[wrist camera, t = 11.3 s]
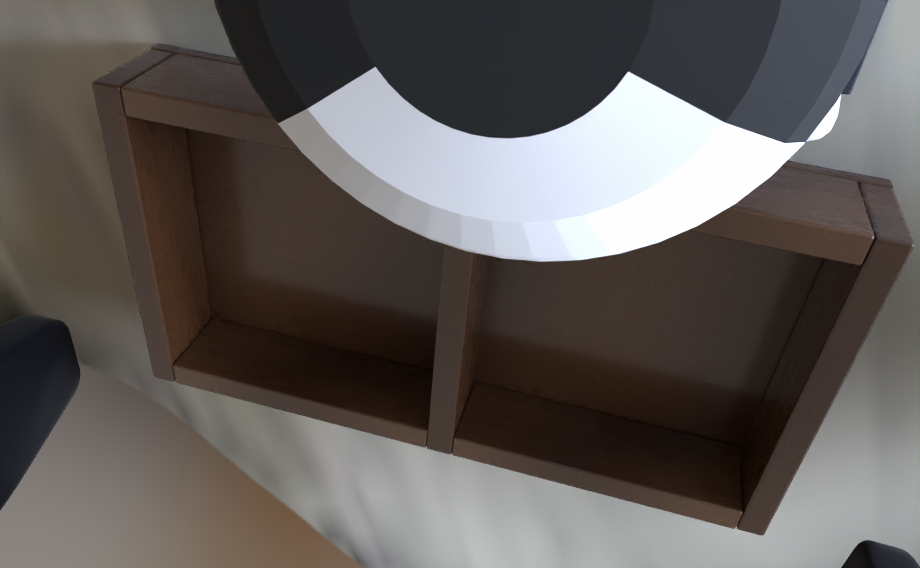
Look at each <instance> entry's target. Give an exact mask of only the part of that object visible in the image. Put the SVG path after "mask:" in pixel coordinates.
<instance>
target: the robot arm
mask: <svg viewBox="0 0 920 568" xmlns="http://www.w3.org/2000/svg"><path fill="white" fill-rule="evenodd" d="M79 380H80V368H79V364H78V361H77V357H76V353H75V349H74V346H73V342H72V338H71V334H70V331H69V329H68V327H67V326H66V325H65V323H64V322H62V321H60V320H56V319H52V318H49V317H45V316H41V315H37V314H28V315H24V316H21V317H18V318H16V319H13V320H11V321H8V322H5V323H3V324H0V510H1V509H2V507H3V506H4V505H5V503H6V502H7V500H8V499H9V497H10V496H11V494H12V493H13V491H14V490H15V488H16V487H17V485H18V484H19V482H20V481H21V479H22V478H23V476H24V474H25V473H26V471H27V469H28V468H29V466H30V465H31V463H32V461H33V460H34V458H35V457H36V455H37V453H38V452H39V450H40V448H41V446H42V445H43V444H44V442H45V440H46V439H47V437H48V436H49V434H50V432H51V431H52V429H53V428H54V426H55V424H56V423H57V421H58V419H59V418H60V416H61V415H62V413H63V411H64V410H65V408H66V406H67V405H68V403H69V402H70V400H71V398H72V397H73V395H74V394H75V391H76V390H77V387H78V384H79ZM842 568H920V566H919V565H918V564H917V562H916V561H915V560H914V558H913V557H912V556H911V555H910V554H909V553H907V552H906V551H904V550H902V549H900V548H896V547H893V546H889V545H885V544H882V543H878V542H874V541H870V540H865V541H862V542H861V543H859V544H858V545H857V546H856V547H855V549H854V550H853V552H852V553H851V554H850V556H849V557H848V559H847V560H846V562H845V563H844V565H843V566H842Z"/></svg>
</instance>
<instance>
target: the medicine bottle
mask: <svg viewBox="0 0 920 568" xmlns="http://www.w3.org/2000/svg"><path fill="white" fill-rule="evenodd" d="M885 2H886V0H214V3H215V6H216V9H217V11H218V14H219V16H220V19H221V21H222V24H223V27H224V29H225V32H226V34H227V37H228V39H229V42H230V44H231V47H232V49H233V51H234V53H235V55H236V57H237V58H238V60H239V62H240V64H241V66H242V68H243V70H244V72H245V74H246V75H247V77H248V79H249V81H250V83H251V85H252V87H253V88H254V90H255V91H256V93H257V94H258V96H259V97H260V99H261V100H262V102H263V103H264V105H265V106H266V108H267V109H268V111H269V112H270V113H271V115H272V116H273V118H274V119H275V121H276V122H277V123H278V125H279V126H280V127H281V128H282V129H283V130H284V132H285V133H286V134H287V135H288V136H289V138H290V139H291V140H292V141H293V142H294V143H295V145H296V146H297V147H298V148H299V149H300V151H301V152H302V153H303V154H304V155H305V156H306V157H307V158H308V159H309V160H311V161H312V162H313V163H314V164H315V165H316V166H317V167H318V168H319V169H320V170H321V171H322V172H323V173H324V174H325V175H326V176H327V177H328V178H329V179H331V180H332V181H333V182H334V183H336V184H337V185H338V186H340V187H341V188H342V189H343V190H345V191H346V192H347V193H349V194H350V195H351V196H353V197H354V198H355V199H357V200H358V201H359V202H361V203H362V204H363V205H365V206H367V207H368V208H370V209H372V210H373V211H375V212H377V213H378V214H380V215H382V216H383V217H385V218H387V219H388V220H390V221H392V222H393V223H395V224H397V225H399V226H402V227H404V228H406V229H408V230H410V231H413V232H415V233H417V234H419V235H421V236H424V237H426V238H428V239H430V240H433V241H437V242H440V243H443V244H446V245H449V246H452V247H455V248H458V249H461V250H464V251H468V252H473V253H478V254H483V255H488V256H493V257H498V258H503V259H515V260H528V261H540V262H544V261H570V260H584V259H590V258H596V257H603V256H609V255H615V254H620V253H624V252H627V251H631V250H634V249H638V248H641V247H645V246H648V245H652V244H655V243H659V242H661V241H663V240H666V239H668V238H670V237H673V236H675V235H677V234H680V233H682V232H684V231H687V230H689V229H691V228H694V227H696V226H698V225H700V224H701V223H703V222H705V221H707V220H708V219H710V218H712V217H713V216H715V215H717V214H719V213H720V212H722V211H724V210H725V209H727V208H729V207H731V206H732V205H734V204H735V203H737V202H738V201H739V200H741V199H742V198H743V197H745V196H746V195H747V194H749V193H750V192H751V191H752V190H754V189H755V188H756V187H758V186H759V185H760V184H762V183H763V182H764V181H765V180H767V179H768V178H769V177H771V176H772V175H773V174H774V173H775V172H776V171H777V170H778V169H779V168H780V167H781V166H782V165H783V164H784V163H785V162H786V161H787V160H788V159H789V158H790V157H791V156H792V155H793V154H794V153H795V152H796V151H797V150H798V149H799V148H800V147H801V146H802V145H803V144H804V143H805V142H806V141H812V140H817V139H820V138H822V137H823V136H824V135H826V134H827V133H828V132H830V131H831V128H832V126H833V124H834V122H835V120H836V118H837V115H838V110H839V104H840V98H841V94H842V92H843V90H844V88H845V87H846V85H847V83H848V82H849V80H850V78H851V76H852V75H853V73H854V71H855V70H856V68H857V66H858V65H859V63H860V61H861V59H862V58H863V56H864V53H865V51H866V49H867V46H868V44H869V41H870V39H871V37H872V34H873V32H874V30H875V27H876V25H877V22H878V20H879V18H880V15H881V13H882V10H883V8H884V6H885Z"/></svg>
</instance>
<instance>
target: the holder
mask: <svg viewBox="0 0 920 568" xmlns="http://www.w3.org/2000/svg"><path fill="white" fill-rule="evenodd" d="M92 86H93V91H94V95H95V100H96V105H97V109H98V114H99V119H100V124H101V128H102V133H103V138H104V143H105V147H106V152H107V157H108V161H109V166H110V171H111V176H112V180H113V185H114V190H115V195H116V199H117V204H118V209H119V214H120V218H121V223H122V228H123V232H124V237H125V242H126V247H127V251H128V256H129V261H130V266H131V270H132V275H133V280H134V284H135V289H136V294H137V299H138V303H139V308H140V313H141V318H142V322H143V327H144V332H145V337H146V341H147V346H148V351H149V355H150V360H151V365H152V370H153V374H154V376H155V377H158V378H162V379H166V380H170V381H176V382H177V383H180V384H184V385H188V386H191V387H195V388H199V389H203V390H207V391H211V392H214V393H218V394H222V395H226V396H230V397H233V398H237V399H241V400H245V401H249V402H253V403H256V404H260V405H264V406H268V407H272V408H275V409H279V410H283V411H287V412H291V413H295V414H298V415H302V416H306V417H310V418H314V419H317V420H321V421H325V422H329V423H333V424H337V425H340V426H344V427H348V428H352V429H356V430H359V431H363V432H367V433H371V434H375V435H379V436H382V437H386V438H390V439H394V440H398V441H401V442H405V443H409V444H413V445H417V446H421V447H426V446H427V448H428V449H431V450H435V451H439V452H442V453H446V454H451V453H452V455H454V456H458V457H462V458H466V459H470V460H473V461H477V462H481V463H485V464H489V465H493V466H496V467H500V468H504V469H508V470H512V471H515V472H519V473H523V474H527V475H531V476H535V477H538V478H542V479H546V480H550V481H554V482H557V483H561V484H565V485H569V486H573V487H577V488H580V489H584V490H588V491H592V492H596V493H599V494H603V495H607V496H611V497H615V498H619V499H622V500H626V501H630V502H634V503H638V504H641V505H645V506H649V507H653V508H657V509H661V510H664V511H668V512H672V513H676V514H680V515H683V516H687V517H691V518H695V519H699V520H703V521H706V522H710V523H714V524H718V525H722V526H725V527H729V528H733V529H735V528H736V526H737V529H739V530H743V531H746V532H750V533H754V534H758V535H764V534H765V532H766V530H767V528H768V526H769V524H770V522H771V520H772V518H773V516H774V514H775V512H776V511H777V509H778V507H779V505H780V503H781V501H782V499H783V497H784V495H785V493H786V491H787V489H788V488H789V486H790V484H791V482H792V480H793V478H794V476H795V474H796V472H797V470H798V468H799V466H800V464H801V463H802V461H803V459H804V457H805V455H806V453H807V451H808V449H809V447H810V445H811V443H812V441H813V440H814V438H815V436H816V434H817V432H818V430H819V428H820V426H821V424H822V422H823V420H824V418H825V416H826V415H827V413H828V411H829V409H830V407H831V405H832V403H833V401H834V399H835V397H836V395H837V393H838V392H839V390H840V388H841V386H842V384H843V382H844V380H845V378H846V376H847V374H848V372H849V370H850V368H851V367H852V365H853V363H854V361H855V359H856V357H857V355H858V353H859V351H860V349H861V347H862V345H863V344H864V342H865V340H866V338H867V336H868V334H869V332H870V330H871V328H872V326H873V324H874V322H875V320H876V319H877V317H878V315H879V313H880V311H881V309H882V307H883V305H884V303H885V301H886V299H887V297H888V296H889V294H890V292H891V290H892V288H893V286H894V284H895V282H896V280H897V278H898V276H899V274H900V272H901V271H902V269H903V267H904V265H905V263H906V261H907V259H908V257H909V255H910V253H911V251H912V249H913V248H914V242H913V239H912V237H911V234H910V232H909V229H908V227H907V224H906V221H905V219H904V216H903V214H902V211H901V209H900V206H899V204H898V201H897V199H896V196H895V193H894V191H893V186H892V183H891V181H890V180H888V179H882V178H877V177H872V176H866V175H861V174H856V173H850V172H845V171H839V170H834V169H829V168H823V167H818V166H813V165H807V164H802V163H797V162H791V161H786V162H785V163H784V164H783V165H782V166H781V167H780V168H779V169H778V170H777V171H776V172H775V173H774V174H773V175H772V176H771V177H769V178H768V179H767V180H765V181H764V182H763V183H762V184H760V185H759V186H758V187H756V188H755V189H754V190H752V191H751V192H750V193H749V194H747V195H746V196H745V197H743V198H742V199H741V200H739V201H738V202H737V203H735V204H734V205H732V206H731V207H729V208H727V209H725V210H724V211H722V212H720V213H719V214H717V215H715V216H713V217H712V218H710V219H708V220H707V221H705V222H703V223H701V224H700V225H698V226H696V227H694V228H691V229H689V230H687V231H684V232H682V233H680V234H677V235H675V236H673V237H670V238H668V239H666V240H663V241H661V242H659V243H655V244H652V245H648V246H645V247H641V248H638V249H634V250H631V251H627V252H624V253H620V254H615V255H609V256H603V257H596V258H590V259H584V260H570V261H544V262H540V261H528V260H515V259H503V258H498V257H493V256H488V255H483V254H478V253H473V252H468V251H464V250H461V249H458V248H455V247H452V246H449V245H446V244H443V243H440V242H437V241H433V240H430V239H428V238H426V237H424V236H421V235H419V234H417V233H415V232H413V231H410V230H408V229H406V228H404V227H402V226H399V225H397V224H395V223H393V222H392V221H390V220H388V219H387V218H385V217H383V216H382V215H380V214H378V213H377V212H375V211H373V210H372V209H370V208H368V207H367V206H365V205H363V204H362V203H361V202H359V201H358V200H357V199H355V198H354V197H353V196H351V195H350V194H349V193H347V192H346V191H345V190H343V189H342V188H341V187H340V186H338V185H337V184H336V183H334V182H333V181H332V180H331V179H329V178H328V177H327V176H326V175H325V174H324V173H323V172H322V171H321V170H320V169H319V168H318V167H317V166H316V165H315V164H314V163H313V162H312V161H311V160H309V159H308V158H307V157H306V156H305V155H304V154H303V153H302V152H301V151H300V149H299V148H298V147H297V146H296V145H295V143H294V142H293V141H292V140H291V139H290V138H289V136H288V135H287V134H286V133H285V132H284V130H283V129H282V128H281V127H280V126H279V125H278V123H277V122H276V121H275V119H274V118H273V116H272V115H271V113H270V112H269V111H268V109H267V108H266V106H265V105H264V103H263V102H262V100H261V99H260V97H259V96H258V94H257V93H256V91H255V90H254V88H253V87H252V85H251V83H250V81H249V79H248V77H247V75H246V74H245V72H244V70H243V68H242V66H241V64H240V62H239V60H238V58H233V57H227V56H222V55H217V54H211V53H206V52H201V51H195V50H190V49H184V48H179V47H174V46H168V45H163V44H157V45H155V46H153V47H151V49H150V50H147V51H146V52H144V53H142V54H140V55H139V56H137V57H135V58H133V59H132V60H130V61H128V62H126V63H125V64H123V65H121V66H119V67H118V68H116V69H114V70H112V71H110V72H109V73H107V74H105V75H103V76H102V77H100V78H98V79H96V80H95V81H93V83H92Z"/></svg>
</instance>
